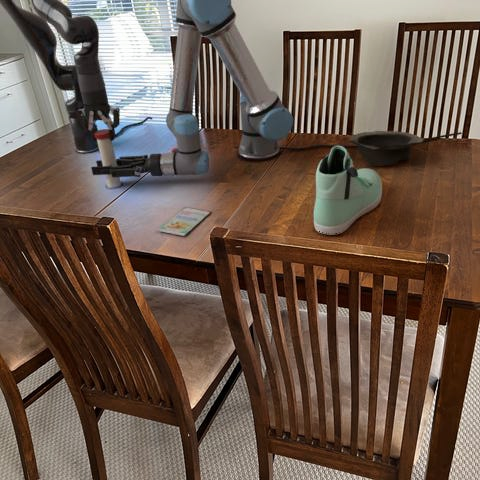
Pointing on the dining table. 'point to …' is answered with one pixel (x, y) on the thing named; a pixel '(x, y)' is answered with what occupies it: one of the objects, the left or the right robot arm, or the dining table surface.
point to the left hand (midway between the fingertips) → (104, 140)
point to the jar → (108, 160)
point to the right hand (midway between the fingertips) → (95, 167)
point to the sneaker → (343, 192)
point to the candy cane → (174, 150)
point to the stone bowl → (384, 146)
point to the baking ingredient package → (183, 221)
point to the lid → (102, 134)
